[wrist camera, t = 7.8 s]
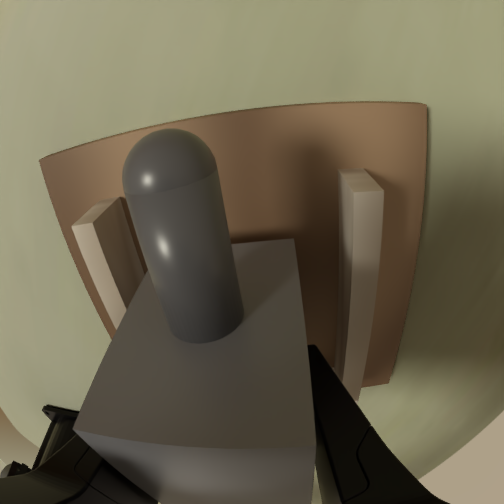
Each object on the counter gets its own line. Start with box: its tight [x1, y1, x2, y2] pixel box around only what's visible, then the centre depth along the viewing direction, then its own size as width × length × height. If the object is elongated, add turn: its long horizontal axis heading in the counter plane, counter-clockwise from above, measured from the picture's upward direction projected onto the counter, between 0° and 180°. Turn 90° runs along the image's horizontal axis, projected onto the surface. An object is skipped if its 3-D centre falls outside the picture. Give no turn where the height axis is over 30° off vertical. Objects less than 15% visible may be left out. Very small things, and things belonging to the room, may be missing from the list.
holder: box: [39, 101, 427, 404], centre depth 11 cm, size 13×13×3 cm
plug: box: [73, 128, 316, 504], centre depth 7 cm, size 4×10×6 cm, turn 8°
